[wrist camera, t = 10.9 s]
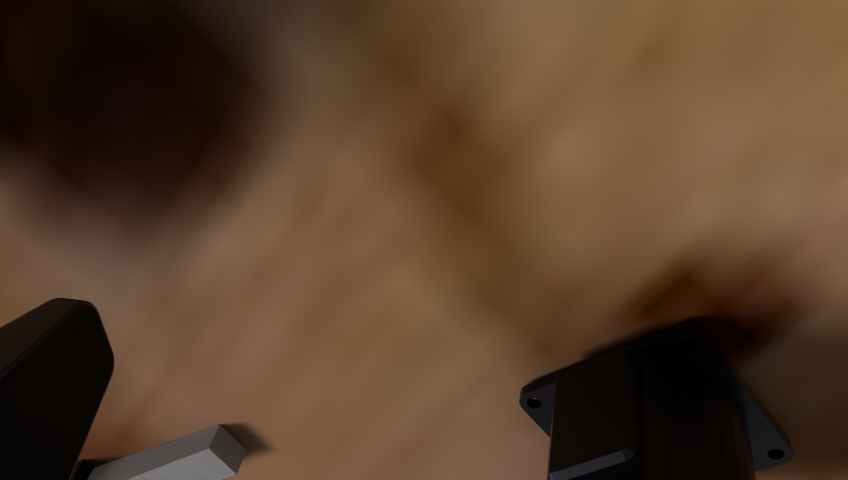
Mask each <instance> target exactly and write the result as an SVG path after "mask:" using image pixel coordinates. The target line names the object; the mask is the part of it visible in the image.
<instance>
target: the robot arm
mask: <svg viewBox="0 0 848 480" xmlns="http://www.w3.org/2000/svg"><path fill="white" fill-rule="evenodd" d="M686 338H692V339H694V340H693V341H683V339H686ZM113 369H114V354H113V350H112V348H111V345H110V342H109V340H108V337H107V334H106V331H105V329H104V326H103V323H102V321H101V318H100V315H99V312H98V310H97V308H96V307H95V306H94V305H93V304H92V303H91V302H88V301H83V300H74V299H66V298H55V299H52V300H50V301H47V302H46V303H44V304H42V305H40V306H38V307H37V308H35V309H33V310H31V311H29V312H28V313H26V314H24V315H22V316H20V317H19V318H17V319H15V320H13V321H11V322H10V323H8V324H6V325H4V326H2V327H1V328H0V480H70V479H71V476H72V474H73V471H74V469H75V466H76V464H77V461H78V459H79V456H80V454H81V451H82V449H83V446H84V444H85V441H86V439H87V436H88V434H89V432H90V429H91V427H92V424H93V422H94V419H95V417H96V414H97V412H98V409H99V407H100V404H101V402H102V399H103V397H104V394H105V392H106V389H107V387H108V384H109V382H110V379H111V377H112V374H113ZM532 398H537V399H532ZM519 402H520V406H521V407H522V408H523V410H524V411H525V412H526V413H527V414H528V415H529V416H530V417H531V418H532V419H533V420H534V421H535V422H536V423H537V424H538V425H539V426H540V427H541V428H542V429H543V430H544V431H545V433H546V434H547V435H548V436H549V437H550V445H549V457H548V468H547V480H756V474H755V471H758V470H761V469H765V468H768V467H772V466H776V465H779V464H783V463H785V462H787V461H789V460H790V459H791V458H792V455H793V451H792V447H791V443H790V440H789V439H788V437H787V436H786V435H785V433H784V432H783V431H782V430H781V428H780V427H779V426H778V424H777V423H776V422H775V421H774V419H773V418H772V417H771V415H770V414H769V413H768V411H767V410H766V409H765V408H764V406H763V405H762V404H761V402H760V401H759V400H758V398H757V397H756V396H755V395H754V393H753V392H752V391H751V389H750V388H749V387H748V386H747V384H746V383H745V382H744V380H743V379H742V378H741V376H740V375H739V374H738V373H737V371H736V370H735V369H734V367H733V366H732V365H731V364H730V362H729V361H728V360H727V358H726V357H725V356H724V354H723V353H722V352H721V351H720V349H719V348H718V347H717V345H716V344H715V343H714V341H713V340H712V339H711V338H710V336H709V335H708V334H707V332H706V331H705V330H704V329H703V328H702V327H701V326H700V325H697V324H695V323H682V324H679V325H676V326H674V327H671V328H669V329H666V330H664V331H661V332H659V333H656V334H654V335H651V336H649V337H646V338H644V339H641V340H638V341H636V342H633V343H631V344H628V345H626V346H623V347H621V348H618V349H616V350H613V351H611V352H608V353H606V354H603V355H601V356H598V357H596V358H593V359H591V360H588V361H586V362H583V363H581V364H578V365H576V366H573V367H570V368H568V369H565V370H563V371H560V372H558V373H555V374H553V375H550V376H548V377H545V378H543V379H540V380H538V381H535V382H533V383H530V384H528V385H526V386H524V387H523V388H522V390H521V392H520V400H519Z"/></svg>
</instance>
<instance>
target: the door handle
mask: <svg viewBox="0 0 848 480" xmlns="http://www.w3.org/2000/svg"><path fill="white" fill-rule="evenodd" d="M245 452H246V449H245V448H244V447H243V446H242V445H240V444H239V443H238V442H237V441H236V440H235V439H234V438H233V437H232V436H231V435H230V434H229V433H228V432H227V431H226V430H225V429H224V428H223V427H222V426H221V425H220V424H219V425H216V426H214V427H211V428H208V429H205V430H202V431H199V432H196V433H193V434H190V435H187V436H185V437H182V438H179V439H176V440H173V441H170V442H167V443H164V444H161V445H158V446H155V447H153V448H150V449H147V450H144V451H141V452H138V453H135V454H132V455H129V456H126V457H124V458H121V459H118V460H115V461H112V462H109V463H106V464H103V465H100V466H98V467H95V468H94V467H93V466H92V465H90V464H89V463H88V462H87V461H86V460H81V461H78V462H77V464H76V466H75V469H74V471H73V474H72V476H71V479H70V480H222V479H225V478H228V477H230V476H233V475H236V474H237V472H238V469H239V467H240V464H241V462H242V460H243V457H244V455H245Z"/></svg>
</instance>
